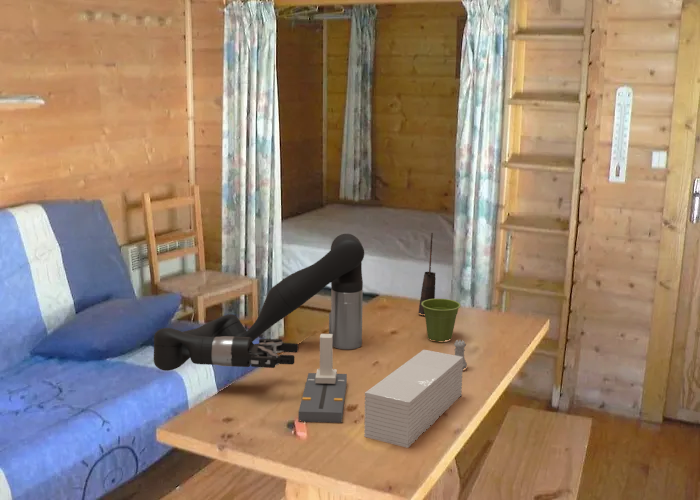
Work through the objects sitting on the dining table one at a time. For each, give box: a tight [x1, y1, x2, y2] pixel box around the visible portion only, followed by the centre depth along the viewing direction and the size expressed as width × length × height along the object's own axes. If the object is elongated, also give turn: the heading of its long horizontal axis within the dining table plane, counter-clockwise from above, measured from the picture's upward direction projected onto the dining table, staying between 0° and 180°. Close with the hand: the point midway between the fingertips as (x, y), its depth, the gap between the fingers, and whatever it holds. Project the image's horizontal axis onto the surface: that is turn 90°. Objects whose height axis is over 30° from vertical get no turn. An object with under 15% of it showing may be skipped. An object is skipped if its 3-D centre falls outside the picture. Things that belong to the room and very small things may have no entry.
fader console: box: [298, 372, 348, 424], centre depth 189 cm, size 24×10×3 cm, turn 178°
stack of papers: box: [363, 349, 464, 449], centre depth 181 cm, size 32×11×11 cm, turn 151°
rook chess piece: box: [453, 339, 468, 369], centre depth 211 cm, size 4×4×8 cm
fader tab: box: [315, 333, 338, 384], centre depth 195 cm, size 6×5×12 cm
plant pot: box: [421, 298, 462, 342], centre depth 235 cm, size 12×12×11 cm
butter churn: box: [418, 232, 436, 314], centre depth 257 cm, size 9×10×28 cm
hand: (296, 353), depth 194 cm, fingers open, 8 cm apart
